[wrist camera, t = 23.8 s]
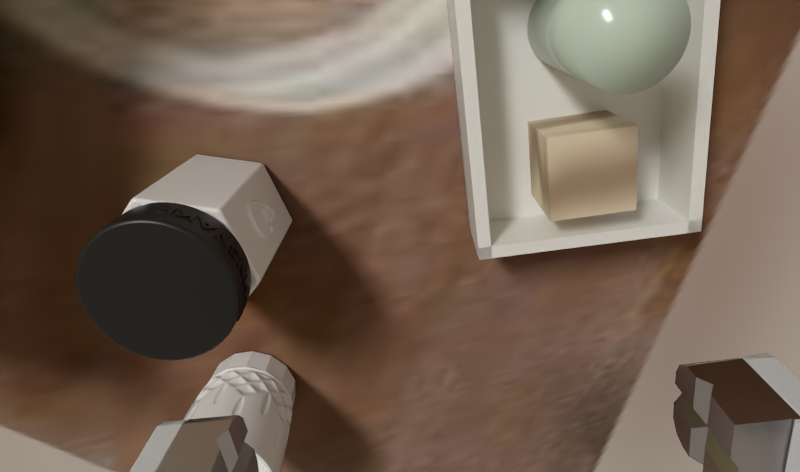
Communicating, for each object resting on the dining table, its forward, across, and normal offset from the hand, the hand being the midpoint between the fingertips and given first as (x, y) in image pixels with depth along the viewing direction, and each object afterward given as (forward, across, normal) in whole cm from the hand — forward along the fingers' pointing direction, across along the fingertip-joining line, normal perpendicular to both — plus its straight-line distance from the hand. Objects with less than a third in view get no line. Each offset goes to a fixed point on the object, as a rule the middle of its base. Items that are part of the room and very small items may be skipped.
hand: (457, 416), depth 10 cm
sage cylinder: (+26, -10, -5) cm, 28 cm away
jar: (+27, +14, +4) cm, 31 cm away
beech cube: (+26, -10, +3) cm, 28 cm away
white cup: (+27, +16, +19) cm, 37 cm away
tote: (+27, -10, -1) cm, 29 cm away
